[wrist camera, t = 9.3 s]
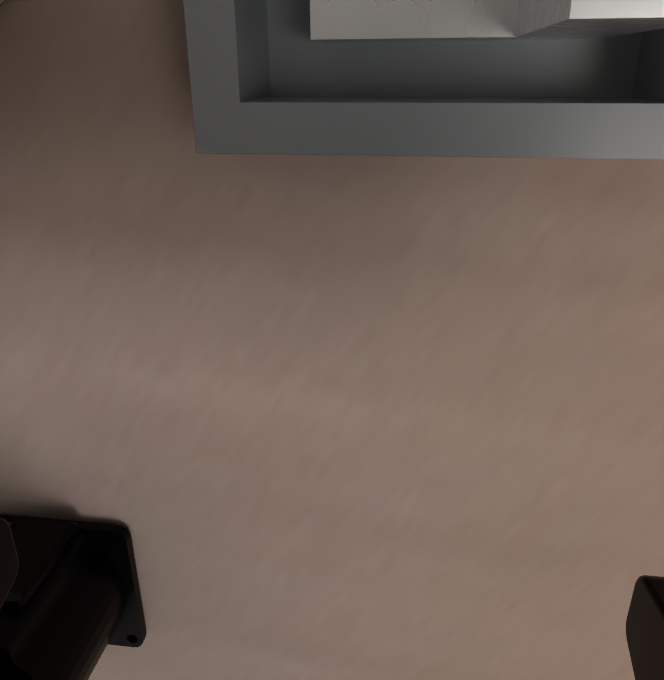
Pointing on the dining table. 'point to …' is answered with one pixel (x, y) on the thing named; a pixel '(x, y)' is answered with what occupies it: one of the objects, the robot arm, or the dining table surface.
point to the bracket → (480, 19)
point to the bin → (416, 91)
